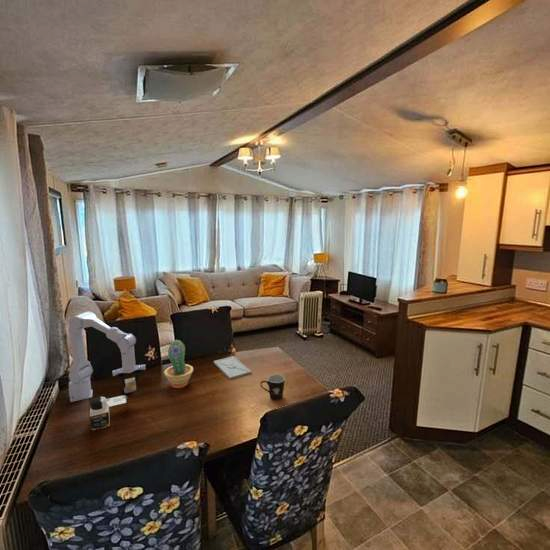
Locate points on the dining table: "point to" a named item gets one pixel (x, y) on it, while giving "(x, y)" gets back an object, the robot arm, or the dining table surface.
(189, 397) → the dining table surface
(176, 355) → the potted cactus
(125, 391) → the slate cube
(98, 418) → the medicine bottle
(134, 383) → the oak block
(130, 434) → the dining table surface
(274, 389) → the coffee mug
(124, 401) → the letter
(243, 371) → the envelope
